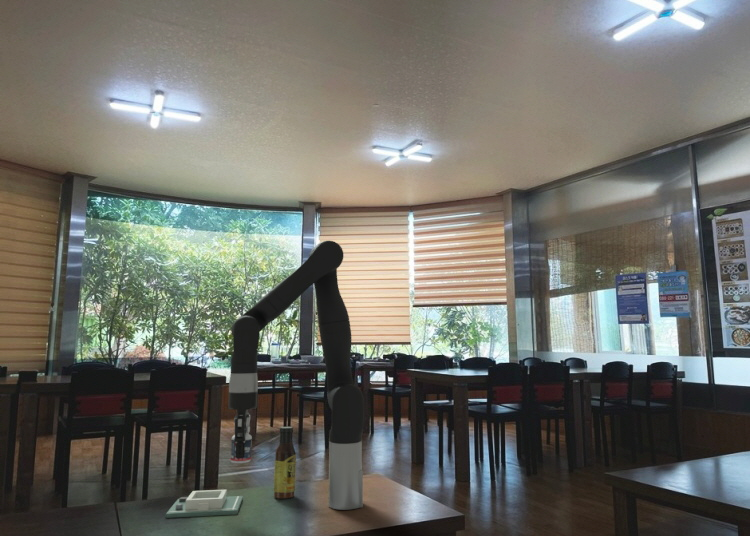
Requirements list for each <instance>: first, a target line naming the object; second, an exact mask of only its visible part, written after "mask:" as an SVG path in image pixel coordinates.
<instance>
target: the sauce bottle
mask: <svg viewBox="0 0 750 536" xmlns="http://www.w3.org/2000/svg"><path fill="white" fill-rule="evenodd" d="M293 433H294V427H293V426H280V427H279V444H278V445H277V447H276V450H275V458H274V473H273V474H274V475H273V491H274V492H273V497H274V498H275V499H280V500H285V499H291V498H293V497H294V496H295V491H296V472H297V471H296V467H297V465H296V464H297V453H296V450H295V446H294V443H293Z"/></svg>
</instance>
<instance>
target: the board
mask: <svg viewBox="0 0 750 536" xmlns="http://www.w3.org/2000/svg"><path fill="white" fill-rule="evenodd" d="M227 495H228V489H209V490H208V489H207V490H192V492H191V493H190V494H189V495H188V496H181V497H179V498H177V500H176V501H175V502H174V503H173V505H171V507H170V508H169V509H168V511H167V512H166V513H165V519H167V518H168V519H170V518H188V517H189V518H190V517H209V516H227V515H228V516H229V515H238V514H239V512H240V511H239V510H240V507H241V505H242V502H243V501H244V500H243V497H244V496H243V495H237V496H236V495H235V496H233V495H232V496H231V495H229V496H227Z"/></svg>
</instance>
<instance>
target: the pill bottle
mask: <svg viewBox="0 0 750 536" xmlns="http://www.w3.org/2000/svg"><path fill="white" fill-rule="evenodd" d="M245 429H246V428H245ZM250 432H251V426H248V433H247V434H246V439H245V440H246V442H245V456H244V458H238V459H237V458H236V443H235V440H234V438H235V434H233V435H232V437H231V441H230V442H231V444H230V463H232V464H245V463H249V462H251V460H252V446H253V445H252V443H253V437H252V435H251V434H250ZM238 437H243V434H239V435H238Z"/></svg>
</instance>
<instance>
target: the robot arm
mask: <svg viewBox="0 0 750 536" xmlns="http://www.w3.org/2000/svg"><path fill="white" fill-rule="evenodd" d="M343 260H344V250H343V248H342V247H341V245H340V244H339V243H338V242H336V241H333V240H323V241H321V242H319V243H318V244H316V245H315V246H314V247H313V248H312V249H311V251H310V252H309V255H308V258H307V259H306V260H305V261H304V262H303V263H302V264H301V265H300V266H299V267H298V268H297V269H296V270H295V271H293V272H291V274H289V275H288V276H287V277H285V278H284V279H283V280H282V281H279V283H278V284H276V285H275V286H274V287H273V288H272V289H270V290H269V291H268V292H267V293H266V294H265V295H264V296H263V297H261V298H260V299H259V300H258V301H257V302H256V304H255V305H254V306H252V307H251V308H250V309H248V310H247V311H246V312H244V313H243V314H242V315H241V316H239V317H238V318H237V319H236V320H235V321H234V322H233V324H232V326H231V335H232V337H233V340H232V341H233V345H232V347H233V348H232V354H231V357H230V358H231V359H230V376H229V382H228V383H229V384H228V405H227V406H228V409H229V410H236V411H237V412H236V415H235V416H234V417H233V423H234V430H233V433H234V435H235V438H234V440H235V443H236V458H237V459H238V458H244V456H245V442H246V440H245V439H246V434H247V433H248V426H250V424H251V423H250V421H251V414H250V413H249V410H253V409H257V407H258V390H259V389H258V388H259V387H258V383H259V382H258V380H259V378H258V349H259V342H260V332H261V331H263V329H264V328H265V327H266V326H267V325H268V324H269V323H271V322H273V321H274V320H276V319H277V318H278V317H280V316H281V315H282V314H283V313H284V312H285V311H286V310H287V309H288V308H289V307H290V306H292V305H293V304H294V302H296V300H298V299H299V297H300V296H301V295H303V294H304V293H305V291H307V290H308V289H309V288H310V287H311V286H313V287H314V291H315V304H316V311H317V314H316V315H317V322H318V330H319V331H318V332H319V338H320V344H321V348H322V353H323V358H324V363H325V369H326V382H327V387H326V388H327V402H328V406H329V408H330V409H331V427H330V430H329V435H328V436H329V439H328V440H329V441H328V443H329V447H328V451H329V452H328V454H329V456H328V507H330V509H334V510H340V511H345V510H355V509H359V508H363V507H364V505H363V504H364V480H363V479H364V471H363V469H362V466H363V465H362V464H363V463H362V462H363V459H362V457H363V456H362V455H363V454H362V451H363V449H362V448H363V446H362V443H363V442H362V441H363V438H362V437H363V432H364V425H365V424H364V423H365V400H364V394H363V392H362V390H361V389H360V388H359V387H358V386H357V385H355V384H354V383H355V382H354V379H353V374H352V368H351V353H352V330H351V323H350V317H349V313H348V308H347V306H346V304H345V301H344V299H343V298H342V295H341V292H340V289H339V283H338V281H339V280H338V269H339V267H340V266H341V265H342V262H343ZM250 427H251V426H250ZM245 428H246V429H245ZM239 434H243V437H238V435H239Z"/></svg>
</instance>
